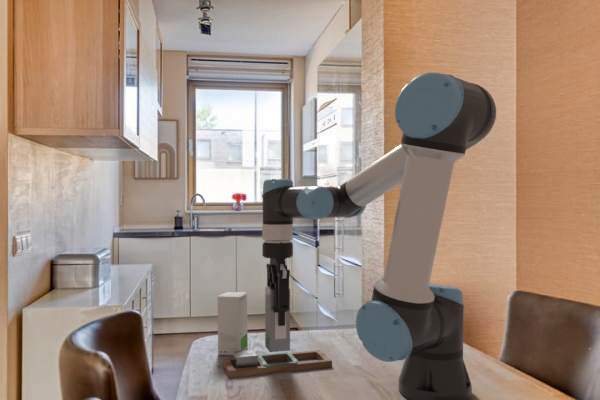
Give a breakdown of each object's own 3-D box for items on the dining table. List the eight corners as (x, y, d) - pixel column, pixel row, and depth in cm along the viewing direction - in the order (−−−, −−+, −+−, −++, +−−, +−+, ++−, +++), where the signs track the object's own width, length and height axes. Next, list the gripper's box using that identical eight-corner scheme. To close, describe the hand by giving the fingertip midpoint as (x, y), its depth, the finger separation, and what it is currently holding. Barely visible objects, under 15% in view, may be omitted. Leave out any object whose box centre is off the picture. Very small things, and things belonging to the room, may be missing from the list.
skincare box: (240, 356, 131) (240, 297, 131) (215, 355, 132) (215, 296, 132) (248, 347, 139) (248, 291, 139) (225, 346, 140) (225, 290, 140)
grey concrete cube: (257, 372, 120) (257, 355, 120) (236, 374, 118) (236, 357, 118) (253, 365, 124) (253, 349, 124) (233, 367, 123) (233, 351, 123)
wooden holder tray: (332, 366, 123) (332, 359, 123) (229, 377, 115) (229, 369, 115) (319, 355, 132) (319, 348, 132) (223, 364, 124) (223, 357, 124)
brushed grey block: (289, 350, 122) (290, 289, 122) (269, 352, 121) (270, 290, 120) (284, 344, 127) (284, 285, 127) (265, 346, 125) (265, 286, 125)
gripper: (303, 244, 116) (302, 344, 116) (282, 238, 133) (282, 325, 133) (271, 244, 114) (271, 347, 114) (255, 238, 131) (254, 327, 131)
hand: (277, 335), depth 124 cm, fingers closed on brushed grey block, 5 cm apart
